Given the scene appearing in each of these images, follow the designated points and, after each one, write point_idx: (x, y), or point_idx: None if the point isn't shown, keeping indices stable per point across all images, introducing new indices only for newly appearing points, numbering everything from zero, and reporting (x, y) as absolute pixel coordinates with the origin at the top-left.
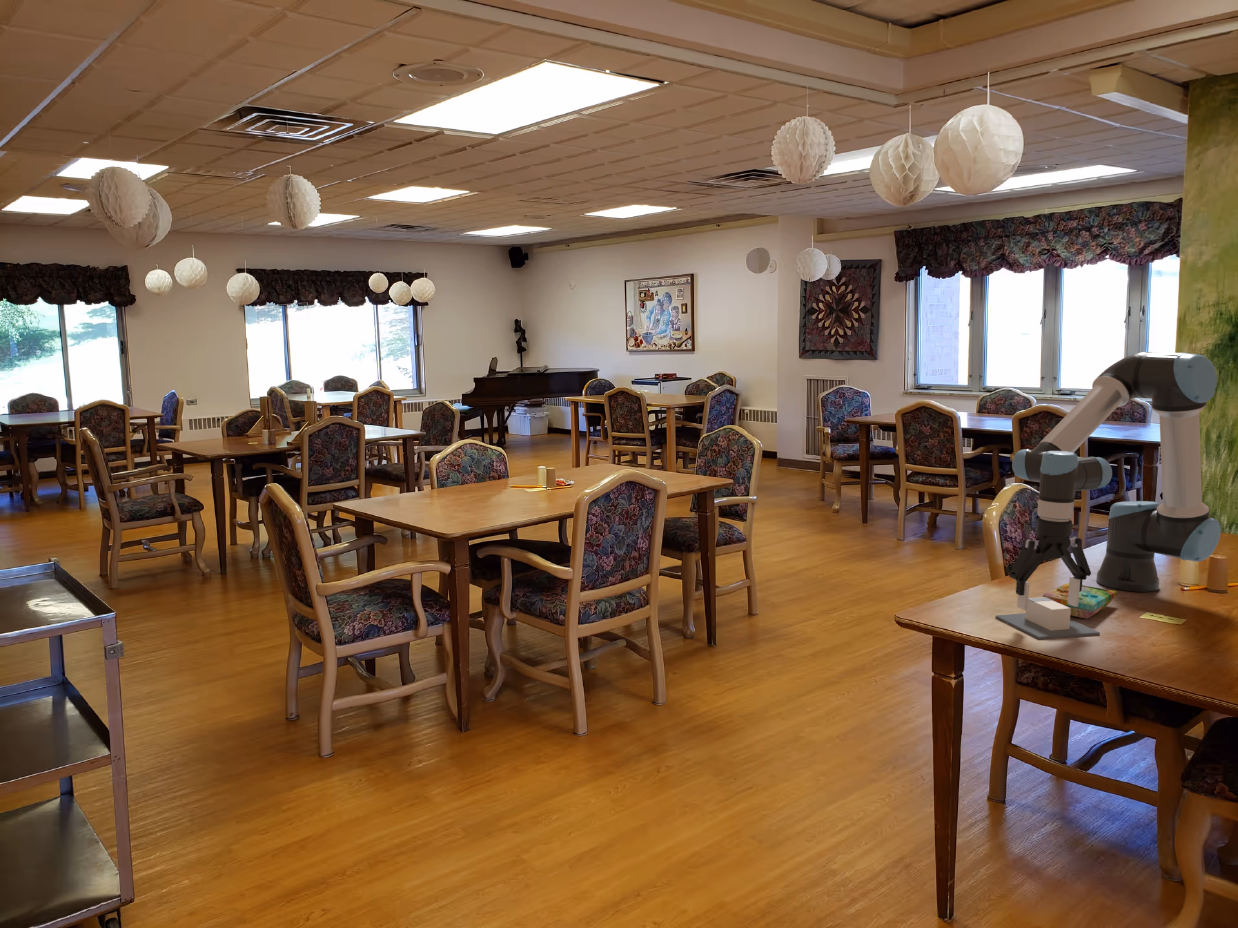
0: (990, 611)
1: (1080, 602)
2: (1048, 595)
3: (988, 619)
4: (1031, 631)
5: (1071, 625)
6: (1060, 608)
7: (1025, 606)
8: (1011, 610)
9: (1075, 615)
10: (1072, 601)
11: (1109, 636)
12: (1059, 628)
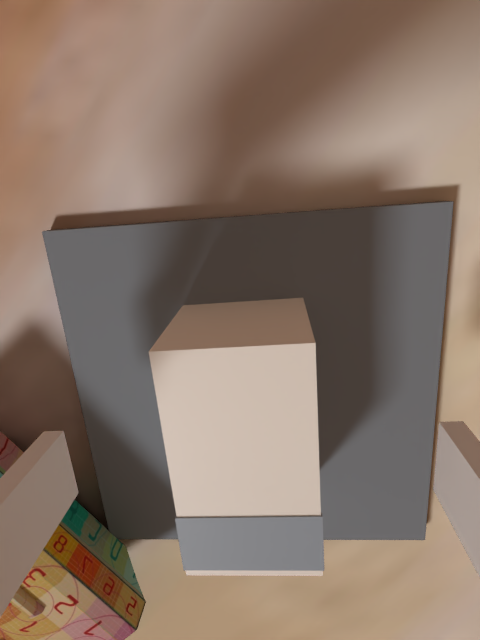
0: (378, 598)
1: None
2: (108, 621)
3: None
4: (424, 298)
5: (136, 355)
6: (230, 359)
7: (468, 436)
8: (273, 592)
9: None
10: (56, 473)
11: (9, 198)
12: (244, 303)
